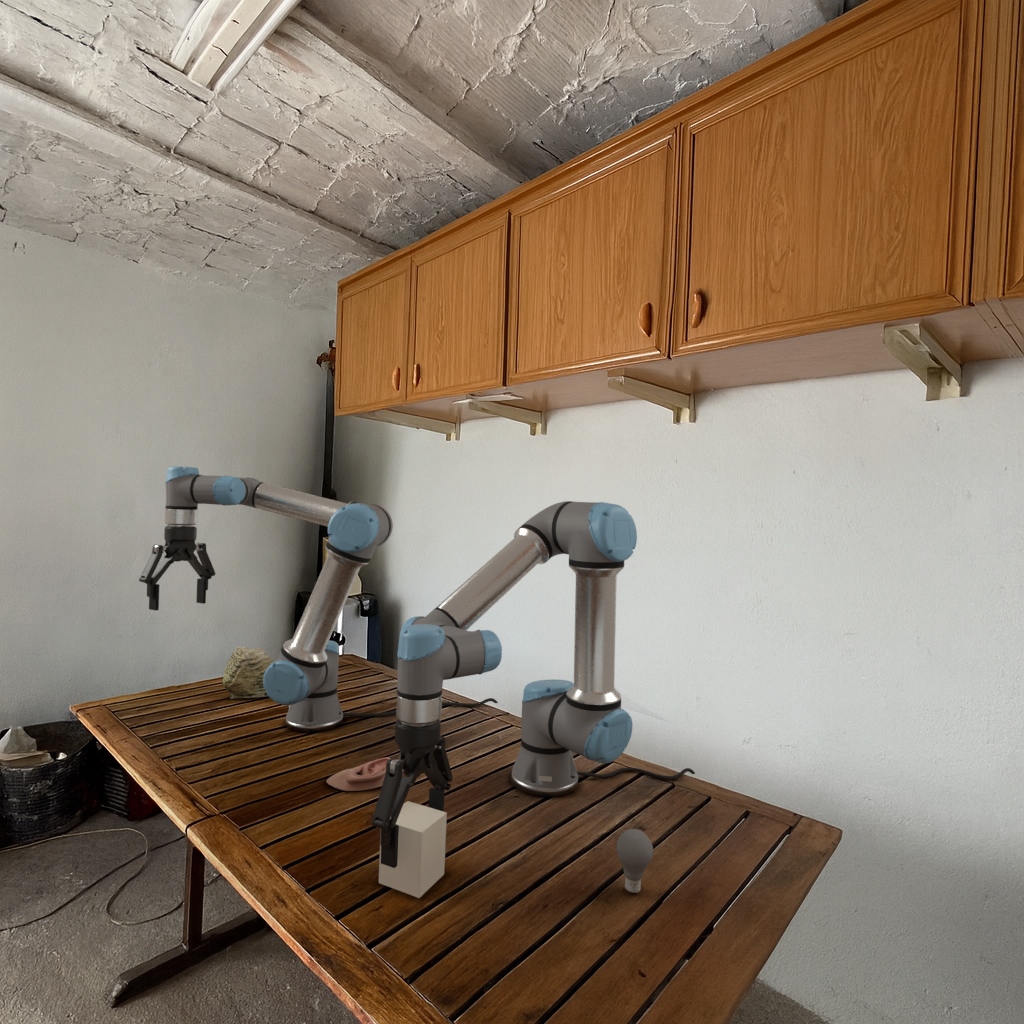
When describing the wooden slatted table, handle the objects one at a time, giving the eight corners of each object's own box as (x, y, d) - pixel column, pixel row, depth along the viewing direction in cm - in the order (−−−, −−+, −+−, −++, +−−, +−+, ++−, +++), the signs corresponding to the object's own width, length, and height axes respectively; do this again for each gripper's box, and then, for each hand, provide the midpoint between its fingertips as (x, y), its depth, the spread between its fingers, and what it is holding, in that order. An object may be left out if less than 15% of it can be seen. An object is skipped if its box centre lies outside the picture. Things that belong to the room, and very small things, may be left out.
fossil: (218, 695, 195) (220, 647, 195) (278, 685, 208) (279, 640, 207) (228, 703, 189) (230, 653, 188) (289, 692, 201) (290, 645, 201)
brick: (405, 860, 112) (407, 800, 112) (444, 874, 108) (446, 812, 108) (378, 883, 105) (380, 819, 105) (419, 898, 101) (421, 832, 101)
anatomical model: (320, 769, 137) (344, 749, 149) (319, 787, 138) (343, 766, 149) (377, 777, 135) (397, 756, 146) (376, 795, 135) (397, 773, 146)
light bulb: (610, 879, 108) (613, 822, 108) (644, 879, 109) (647, 822, 109) (619, 902, 102) (622, 840, 102) (655, 901, 103) (658, 840, 103)
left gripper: (212, 524, 179) (209, 598, 179) (124, 525, 156) (122, 611, 157) (230, 525, 175) (228, 601, 176) (144, 527, 153) (141, 614, 153)
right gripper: (439, 695, 119) (435, 807, 119) (351, 738, 96) (346, 876, 97) (474, 702, 115) (469, 818, 116) (391, 748, 93) (385, 891, 94)
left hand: (178, 606), depth 166 cm, fingers open, 13 cm apart
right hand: (413, 844), depth 106 cm, fingers open, 13 cm apart
